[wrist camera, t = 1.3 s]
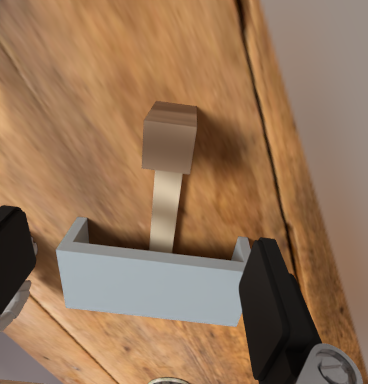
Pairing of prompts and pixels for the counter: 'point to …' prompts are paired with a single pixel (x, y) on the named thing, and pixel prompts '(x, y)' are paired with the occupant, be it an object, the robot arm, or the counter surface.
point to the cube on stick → (167, 164)
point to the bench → (150, 280)
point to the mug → (16, 301)
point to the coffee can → (167, 381)
